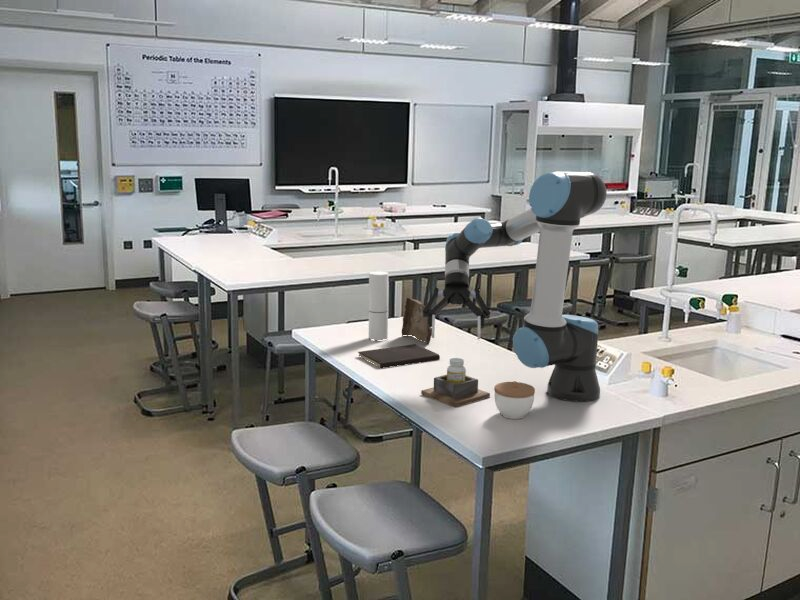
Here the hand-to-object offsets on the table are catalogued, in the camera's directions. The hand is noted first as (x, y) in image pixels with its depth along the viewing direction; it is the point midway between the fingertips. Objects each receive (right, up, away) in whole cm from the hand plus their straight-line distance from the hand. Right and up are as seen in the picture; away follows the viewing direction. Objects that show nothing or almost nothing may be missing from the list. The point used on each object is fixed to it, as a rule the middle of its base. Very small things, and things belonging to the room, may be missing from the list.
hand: (456, 336), depth 219 cm
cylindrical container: (-25, -4, +59) cm, 64 cm away
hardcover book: (-17, -10, +33) cm, 39 cm away
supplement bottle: (-1, -16, -5) cm, 17 cm away
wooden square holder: (-1, -17, -5) cm, 18 cm away
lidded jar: (+14, -20, -20) cm, 32 cm away
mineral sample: (-10, -5, +57) cm, 58 cm away
